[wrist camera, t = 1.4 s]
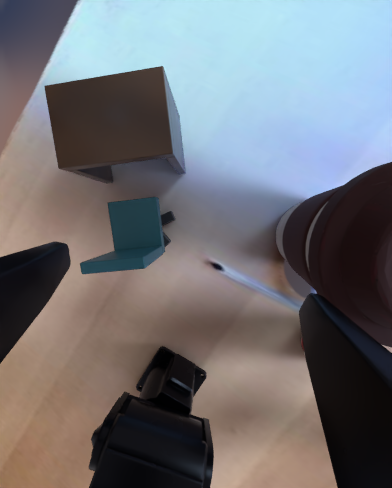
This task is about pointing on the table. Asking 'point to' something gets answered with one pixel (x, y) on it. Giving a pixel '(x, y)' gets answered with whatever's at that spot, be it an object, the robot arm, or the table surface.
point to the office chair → (133, 236)
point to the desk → (114, 122)
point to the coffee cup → (347, 248)
